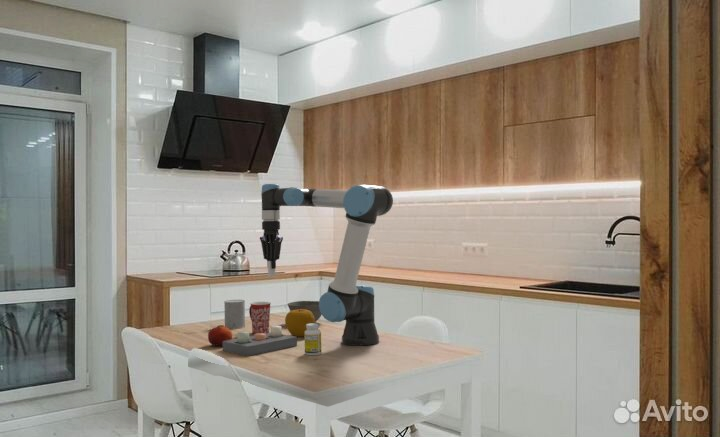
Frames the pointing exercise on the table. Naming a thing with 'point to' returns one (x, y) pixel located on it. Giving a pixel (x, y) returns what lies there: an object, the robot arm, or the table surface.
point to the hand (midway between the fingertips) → (271, 276)
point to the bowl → (307, 307)
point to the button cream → (276, 331)
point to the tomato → (219, 335)
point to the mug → (260, 317)
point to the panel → (259, 345)
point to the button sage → (243, 337)
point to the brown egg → (260, 336)
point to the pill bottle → (312, 339)
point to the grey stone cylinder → (234, 314)
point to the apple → (298, 321)
